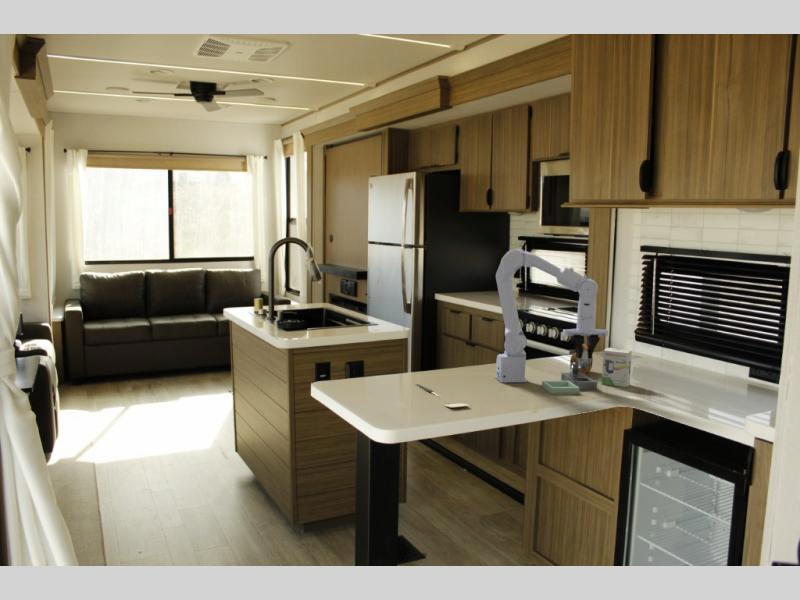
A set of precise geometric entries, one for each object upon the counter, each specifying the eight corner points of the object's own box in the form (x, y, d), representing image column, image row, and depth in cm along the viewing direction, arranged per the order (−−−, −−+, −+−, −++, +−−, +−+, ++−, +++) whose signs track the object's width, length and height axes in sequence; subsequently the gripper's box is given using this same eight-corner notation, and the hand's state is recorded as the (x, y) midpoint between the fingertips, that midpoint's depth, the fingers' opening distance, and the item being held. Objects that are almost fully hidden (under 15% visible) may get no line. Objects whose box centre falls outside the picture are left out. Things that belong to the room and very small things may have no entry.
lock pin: (580, 368, 221) (582, 346, 220) (576, 366, 224) (578, 344, 223) (589, 368, 221) (590, 346, 221) (585, 366, 224) (587, 344, 223)
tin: (576, 378, 235) (577, 354, 234) (567, 377, 237) (569, 353, 236) (592, 371, 247) (594, 348, 246) (584, 369, 249) (585, 347, 248)
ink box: (630, 384, 229) (632, 350, 227) (627, 388, 224) (629, 352, 223) (603, 381, 233) (606, 347, 231) (600, 384, 228) (603, 349, 227)
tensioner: (576, 389, 220) (577, 369, 219) (561, 379, 232) (562, 360, 232) (596, 389, 221) (598, 369, 220) (580, 379, 233) (581, 360, 233)
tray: (551, 394, 213) (552, 388, 213) (541, 386, 222) (542, 380, 222) (579, 394, 215) (579, 387, 214) (568, 386, 223) (568, 380, 223)
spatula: (451, 412, 193) (452, 407, 193) (407, 386, 220) (408, 382, 220) (470, 410, 196) (470, 405, 196) (424, 385, 222) (425, 380, 222)
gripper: (569, 318, 216) (567, 360, 217) (613, 318, 218) (610, 360, 219) (561, 314, 223) (558, 355, 224) (603, 315, 225) (600, 355, 226)
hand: (583, 357), depth 222 cm, fingers closed on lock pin, 3 cm apart
